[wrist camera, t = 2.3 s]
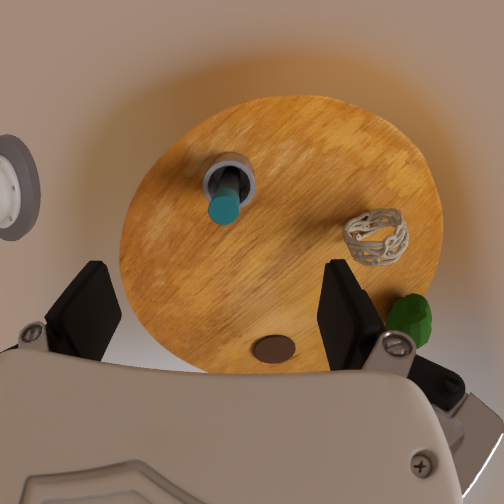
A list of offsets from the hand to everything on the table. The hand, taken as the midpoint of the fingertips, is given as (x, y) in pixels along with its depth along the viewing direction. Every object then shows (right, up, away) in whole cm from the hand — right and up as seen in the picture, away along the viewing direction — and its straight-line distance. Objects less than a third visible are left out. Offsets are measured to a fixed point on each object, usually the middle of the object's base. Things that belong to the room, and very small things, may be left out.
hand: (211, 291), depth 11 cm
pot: (-1, +11, +20) cm, 22 cm away
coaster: (+5, -15, +34) cm, 37 cm away
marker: (-1, +10, +19) cm, 22 cm away
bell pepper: (+25, -6, +24) cm, 35 cm away
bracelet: (+16, +6, +23) cm, 29 cm away
